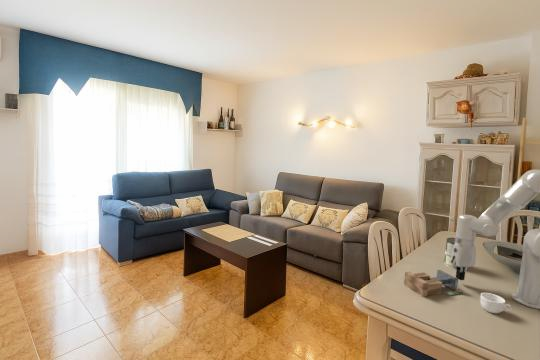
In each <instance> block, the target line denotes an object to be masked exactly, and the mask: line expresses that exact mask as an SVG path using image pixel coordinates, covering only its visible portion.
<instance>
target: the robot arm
mask: <svg viewBox="0 0 540 360" xmlns="http://www.w3.org/2000/svg"><path fill="white" fill-rule="evenodd" d="M539 194H540V169H530V170H527V171H526V172H525V173H523V174H522V175H521V176H520V177H519V178H518V179H517V180H516V181H515V183H513V184H512V185H511V186H510V187H509V188H508V190H506V191H505V192H504V193H503V194H502V195H501V196H499V198H498V199H497V200H495V201H494V202H493V203H492V204H491V205H490V206H488V208H487V209H486V210H485V211H484V212H483V213H482V214H480V216H479V217H478V218H477V217H476V216H474V215H470V214H460V215H458V217H457V222H456V223H457V224H456V232H455V237H454V238H455V243H454V246H453V249H452V254H451V263H452V266H451V267H453V268H452V269H454V268H455V271H456V273H455V278H457V279H458V281H459V280H460V281H465V277H466V273H467V270H468V268H470V267H474V266H476V258H477V248H476V244H475V243H476V235H477V234H478V235H480V236H481V235H482V236H485V237H493V236H496V235H498V233H499V232H500V226H499V224H500V223H501V222H503V220H504V219H506V218H507V217H508V216H509V215H511V214H512V213H515V212H519V211H521V210H522V209H524V208H525V207H526V206H527V205H528V204H529V203H530V202H531V201H532V200H533V199H535V197H536V196H538V195H539ZM522 245H523V246H522V257H521V263H520V268H519V269H520V270H519V276H518V283H517V289H516V291H513V292H511V298H512V299H513V300H514V301H516V302H517V303H519V304H522V305H523V306H527V307H528V308H533V309H537V310H540V228H533V229H530V230H528V231H527V232H526V233H525V235H524V237H523V243H522ZM451 267H450V268H451Z"/></svg>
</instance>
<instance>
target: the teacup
mask: <svg viewBox="0 0 540 360" xmlns="http://www.w3.org/2000/svg"><path fill="white" fill-rule="evenodd" d="M479 303H480V306H481V307H482V308H483V309H484V310H485V311H486V312H488V313H491V314H499V313H501V312H509V311H512V309H513V308H512V305H510V304H509V303H506V300H505V298H504V297H502V296H500V295H497V294H493V293H492V292H490V293H489V292H481V293H480V302H479ZM507 306H509V309H507V308H505V307H507Z"/></svg>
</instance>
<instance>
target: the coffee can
mask: <svg viewBox="0 0 540 360" xmlns="http://www.w3.org/2000/svg"><path fill="white" fill-rule="evenodd" d="M455 238H456V237H447V238H446V242H445V252H444V261H443V264H444V265H445V266H446V267H448V268H452V269H455V268H453V267H451V266H452V263H451V254H452V249H453V246H454V243H455ZM455 270H456V269H455Z"/></svg>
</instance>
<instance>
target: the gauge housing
mask: <svg viewBox="0 0 540 360" xmlns="http://www.w3.org/2000/svg"><path fill="white" fill-rule="evenodd" d="M428 278H431V276H430V275H429V274H428V273H426V272H417V273H412V272H411V271H405V272H404V279H403V280H404V282H403V285H404V284H405V286H406V287H407V286H408V287H407V288H409V289H411V290H412V291H413V292H415V293H416V294H417V293H418V294H417V295H419V296H420V295H421V296H420V297H421V298H423V297H427V296H433V295H440V294H442V288H443V285H442V282H440V281H438V280H436V279H433V280H428ZM443 294H444V296H447V297H449V296H450V297H451V296H459V295H463V292H462V291H461V292H459V291H457V290H454V291H447V292H443Z"/></svg>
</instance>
